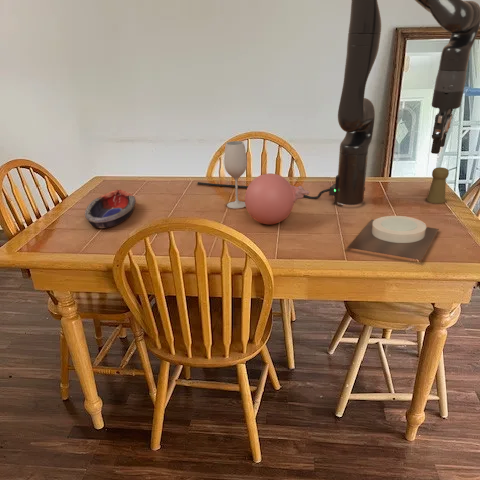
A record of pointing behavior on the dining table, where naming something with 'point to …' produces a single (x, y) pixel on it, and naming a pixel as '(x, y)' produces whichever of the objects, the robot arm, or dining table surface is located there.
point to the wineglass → (235, 166)
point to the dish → (110, 209)
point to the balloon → (271, 198)
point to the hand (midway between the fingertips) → (437, 149)
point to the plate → (398, 229)
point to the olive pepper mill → (438, 185)
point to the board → (393, 244)
